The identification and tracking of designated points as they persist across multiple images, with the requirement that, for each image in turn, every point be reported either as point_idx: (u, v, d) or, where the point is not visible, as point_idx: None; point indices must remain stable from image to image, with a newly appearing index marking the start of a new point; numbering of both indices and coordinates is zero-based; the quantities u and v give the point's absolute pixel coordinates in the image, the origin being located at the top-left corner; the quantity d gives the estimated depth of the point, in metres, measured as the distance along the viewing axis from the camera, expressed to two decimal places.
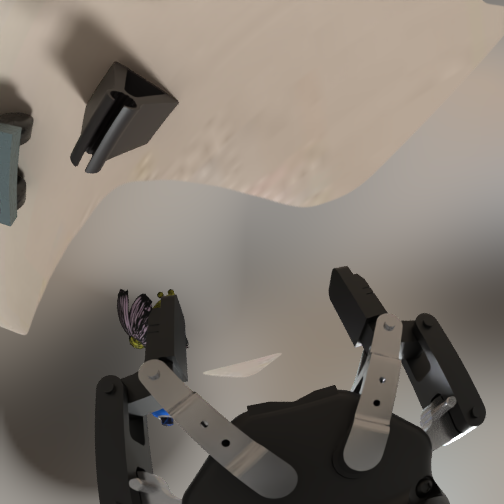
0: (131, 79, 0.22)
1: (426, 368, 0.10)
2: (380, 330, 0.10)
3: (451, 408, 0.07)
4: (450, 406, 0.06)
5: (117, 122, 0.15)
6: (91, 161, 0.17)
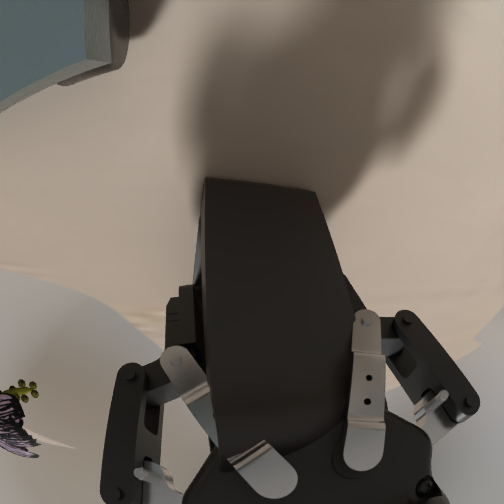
0: None
1: (411, 363, 0.10)
2: (358, 327, 0.10)
3: (444, 401, 0.07)
4: (443, 400, 0.07)
5: None
6: None
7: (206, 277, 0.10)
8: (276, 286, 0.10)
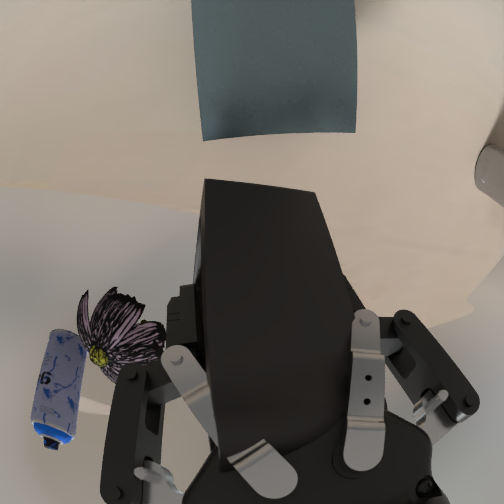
0: None
1: (410, 363, 0.10)
2: (357, 327, 0.10)
3: (444, 401, 0.07)
4: (443, 400, 0.07)
5: None
6: None
7: (206, 278, 0.10)
8: (276, 287, 0.10)
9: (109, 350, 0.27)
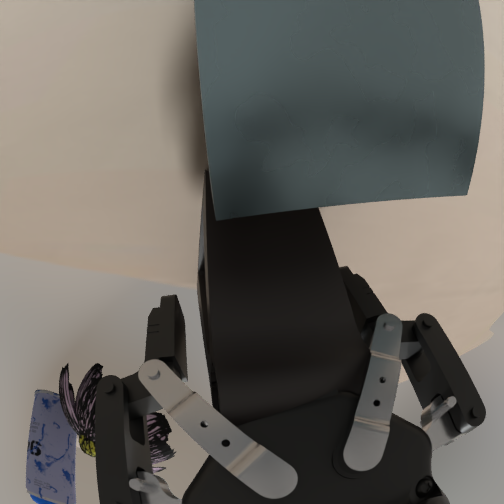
0: None
1: (426, 368, 0.10)
2: (380, 330, 0.10)
3: (451, 408, 0.07)
4: (450, 406, 0.06)
5: None
6: None
7: (208, 254, 0.11)
8: (271, 261, 0.12)
9: None
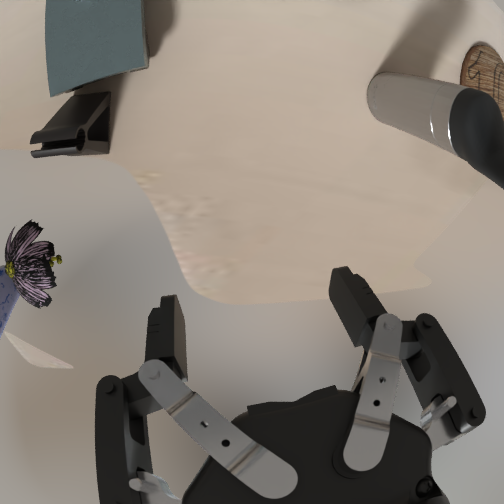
0: (104, 112, 0.29)
1: (426, 368, 0.10)
2: (380, 330, 0.10)
3: (451, 408, 0.07)
4: (450, 406, 0.06)
5: (65, 150, 0.21)
6: (38, 151, 0.20)
7: (55, 114, 0.23)
8: (72, 112, 0.23)
9: (15, 261, 0.29)
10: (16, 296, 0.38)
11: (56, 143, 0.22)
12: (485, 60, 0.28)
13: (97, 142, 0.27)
